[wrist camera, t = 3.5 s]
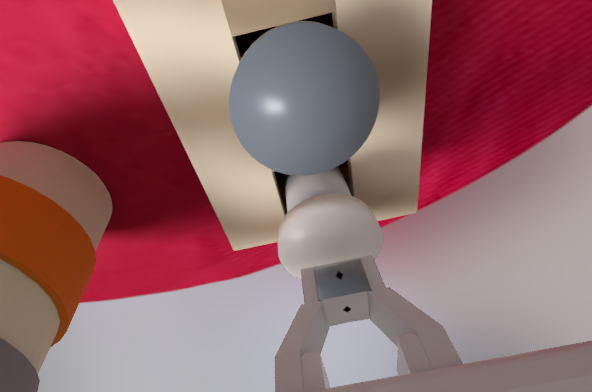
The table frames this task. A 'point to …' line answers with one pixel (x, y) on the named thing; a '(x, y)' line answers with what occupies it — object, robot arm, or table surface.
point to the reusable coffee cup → (43, 252)
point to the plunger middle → (304, 98)
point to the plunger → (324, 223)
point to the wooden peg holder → (216, 89)
